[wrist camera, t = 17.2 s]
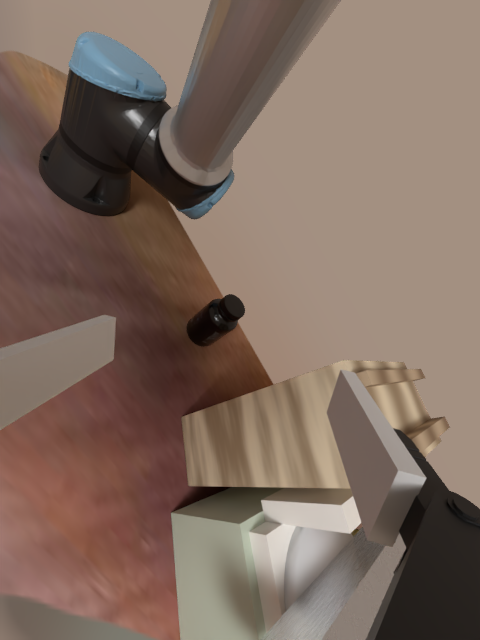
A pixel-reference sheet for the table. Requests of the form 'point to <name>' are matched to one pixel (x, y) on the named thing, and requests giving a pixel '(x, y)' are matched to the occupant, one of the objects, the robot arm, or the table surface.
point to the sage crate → (219, 565)
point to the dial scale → (298, 542)
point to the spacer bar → (342, 594)
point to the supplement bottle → (215, 320)
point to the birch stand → (298, 429)
